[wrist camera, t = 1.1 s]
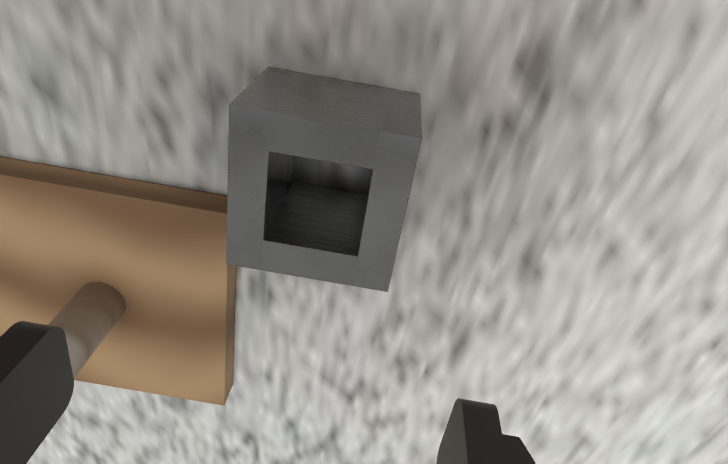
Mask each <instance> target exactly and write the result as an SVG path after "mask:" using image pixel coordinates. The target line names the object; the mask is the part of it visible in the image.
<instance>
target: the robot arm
mask: <svg viewBox="0 0 728 464" xmlns="http://www.w3.org/2000/svg"><path fill="white" fill-rule="evenodd" d="M73 387H74V378H73V373H72V367H71V362H70V357H69V351H68V346H67V340H66V335H65V332H64V330H63V329H62V328H60V327H55V326H50V325H44V324H38V323H33V322H27V321H19V322H16V323H15V324H13V325H12V326H11V327H10V328H9V329H8V330H7V331H6V332H5V333H4V334H3V335H2V336H1V337H0V464H26V463H27V462H28V460H29V459H30V458H31V456H32V455H33V454H34V452H35V451H36V449H37V448H38V447H39V445H40V444H41V443H42V441H43V440H44V439H45V437H46V436H47V434H48V433H49V432H50V430H51V429H52V428H53V426H54V425H55V424H56V422H57V421H58V419H59V418H60V417H61V415H62V414H63V413H64V411H65V410H66V408H67V406H68V404H69V402H70V399H71V396H72V393H73ZM437 464H535V462H534V460H533V458H532V457H531V455H530V454H529V452H528V450H527V449H526V447H525V446H524V444H523V442H522V441H521V439H520V438H519V437H515V436H509V435H504V434H502V432H501V426H500V420H499V415H498V410H497V408H496V406H495V405H493V404H487V403H482V402H476V401H470V400H465V399H459V398H458V399H457V400H456V402H455V404H454V407H453V410H452V413H451V415H450V418H449V421H448V424H447V427H446V430H445V432H444V435H443V438H442V441H441V444H440V447H439V452H438V457H437Z"/></svg>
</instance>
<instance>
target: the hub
mask: <svg viewBox="0 0 728 464" xmlns="http://www.w3.org/2000/svg"><path fill="white" fill-rule="evenodd" d="M421 139H422V134H421V112H420V94H418V93H412V92H407V91H401V90H395V89H390V88H384V87H378V86H373V85H367V84H361V83H356V82H350V81H344V80H339V79H333V78H327V77H321V76H316V75H310V74H304V73H299V72H293V71H287V70H282V69H276V68H270V67H268V68H267V69H266V70H265V71H264V72H263V73H262V74H261V75H259V76H258V77H257V78H256V79H255V80H254V81H253V82H252V83H251V84H250V85H249V86H248V87H247V88H246V89H245V90H244V91H243V92H242V93H241V94H240V95H239V96H238V97H237V98H236V99H235V100H234V101H233V102H232V103H231V104H229V147H228V198H227V249H226V264H229V265H235V266H241V267H247V268H252V269H258V270H264V271H270V272H276V273H281V274H287V275H293V276H299V277H305V278H310V279H316V280H322V281H328V282H334V283H339V284H345V285H351V286H357V287H363V288H368V289H374V290H380V291H386V292H388V288H389V284H390V279H391V275H392V270H393V266H394V261H395V257H396V252H397V248H398V243H399V239H400V234H401V229H402V225H403V220H404V216H405V211H406V207H407V202H408V198H409V193H410V189H411V184H412V180H413V175H414V171H415V166H416V162H417V157H418V153H419V148H420V144H421ZM294 156H299V157H305V158H311V159H316V160H322V161H328V162H333V163H339V164H345V165H351V166H356V167H362V168H368V169H373V170H372V175H371V181H370V187H369V192H368V194H363V193H358V192H352V191H346V190H341V189H335V188H329V187H323V186H318V185H312V184H306V183H300V182H295V181H291V180H292V169H293V157H294Z"/></svg>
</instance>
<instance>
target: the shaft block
mask: <svg viewBox="0 0 728 464" xmlns="http://www.w3.org/2000/svg"><path fill="white" fill-rule="evenodd" d="M227 198H228V196H223V195H217V194H211V193H206V192H200V191H194V190H188V189H183V188H177V187H171V186H165V185H160V184H154V183H148V182H142V181H137V180H131V179H125V178H119V177H114V176H108V175H102V174H96V173H90V172H85V171H79V170H73V169H67V168H62V167H56V166H50V165H44V164H39V163H33V162H27V161H21V160H16V159H10V158H4V157H0V337H1V336H2V335H3V334H4V333H5V332H6V331H7V330H8V329H9V328H10V327H11V326H12V325H13V324H15V323H16V322H19V321H27V322H33V323H38V324H44V325H50V326H55V327H60V328H62V329H63V330H64V332H65V335H66V340H67V346H68V351H69V357H70V362H71V367H72V373H73V378H74V380H77V381H83V382H89V383H95V384H101V385H107V386H113V387H119V388H125V389H131V390H136V391H142V392H148V393H154V394H160V395H166V396H172V397H178V398H184V399H189V400H195V401H201V402H207V403H213V404H219V405H225V402H226V400H227V397H228V395H229V392H230V390H231V387H232V385H233V354H234V323H235V291H236V266H235V265H229V264H226V249H227Z"/></svg>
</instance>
